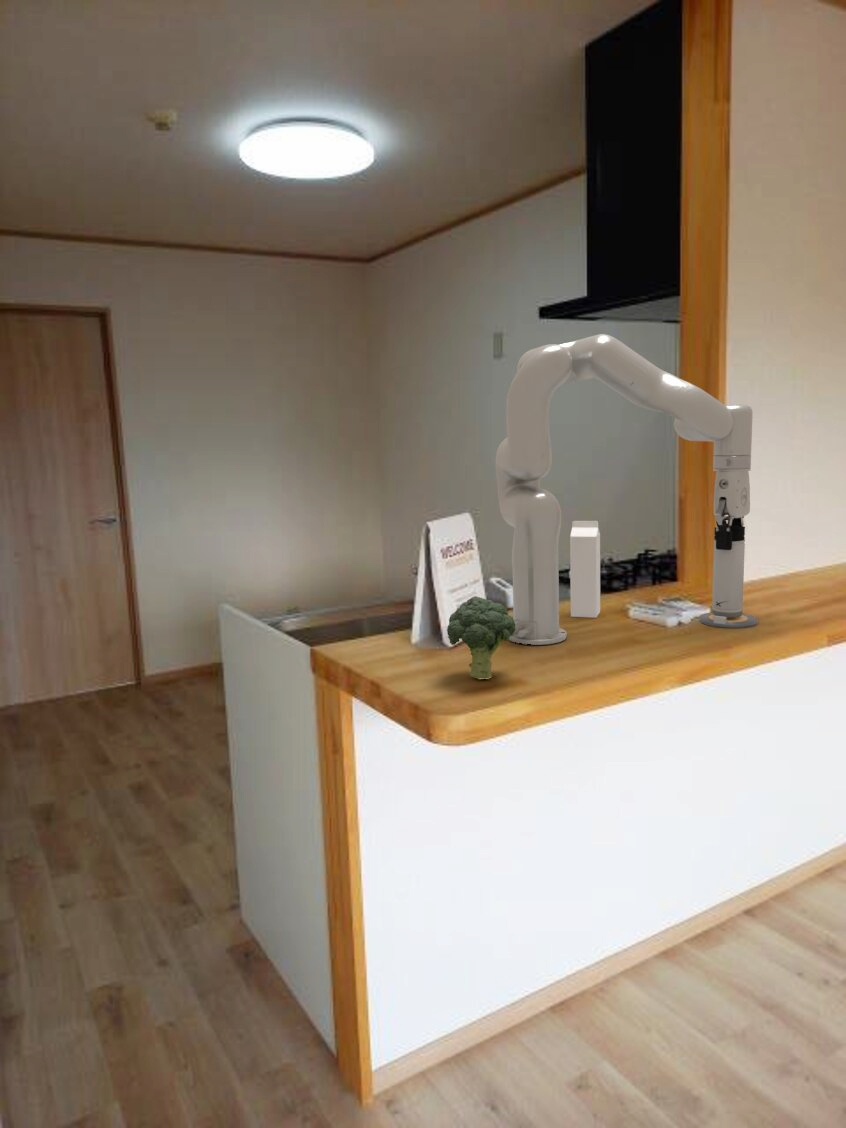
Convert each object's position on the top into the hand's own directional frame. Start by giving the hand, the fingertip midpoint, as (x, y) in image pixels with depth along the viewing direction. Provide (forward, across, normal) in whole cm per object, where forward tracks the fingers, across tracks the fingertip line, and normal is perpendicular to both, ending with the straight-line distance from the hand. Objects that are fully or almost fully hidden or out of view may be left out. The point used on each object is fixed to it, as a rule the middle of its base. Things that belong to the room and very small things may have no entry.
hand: (729, 546), depth 182 cm
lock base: (+17, 0, 0) cm, 17 cm away
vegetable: (+17, -62, +23) cm, 68 cm away
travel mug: (+15, 0, 0) cm, 15 cm away
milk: (+17, -9, +30) cm, 35 cm away
